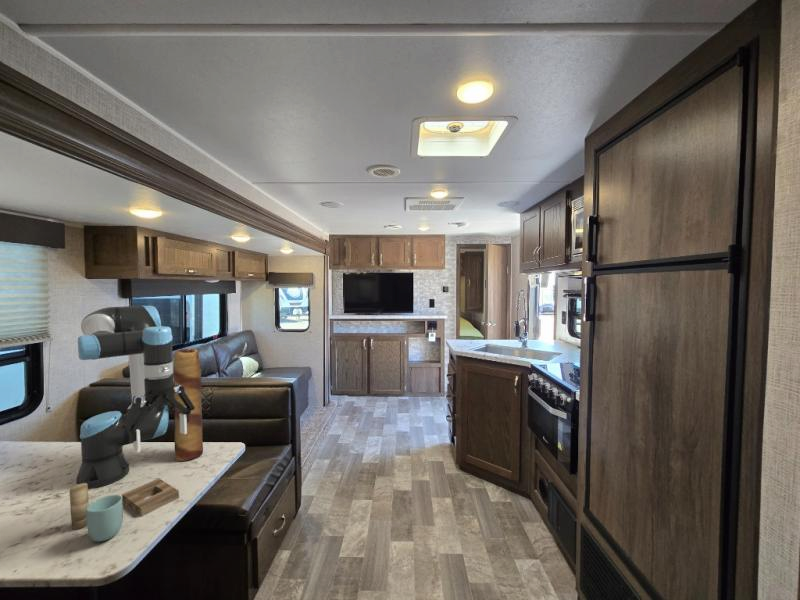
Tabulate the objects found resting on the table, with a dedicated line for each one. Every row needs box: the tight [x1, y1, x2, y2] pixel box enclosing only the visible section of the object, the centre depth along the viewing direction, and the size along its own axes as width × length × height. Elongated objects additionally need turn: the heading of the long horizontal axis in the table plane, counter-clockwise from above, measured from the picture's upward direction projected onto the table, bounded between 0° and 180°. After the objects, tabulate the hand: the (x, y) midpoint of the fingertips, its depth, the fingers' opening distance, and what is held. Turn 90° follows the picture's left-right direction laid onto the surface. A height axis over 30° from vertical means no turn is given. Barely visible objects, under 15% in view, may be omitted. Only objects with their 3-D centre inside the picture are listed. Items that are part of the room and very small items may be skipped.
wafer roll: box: [172, 348, 204, 462], centre depth 145 cm, size 10×11×45 cm
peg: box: [69, 483, 90, 531], centre depth 104 cm, size 4×4×12 cm
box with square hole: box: [121, 478, 180, 517], centre depth 117 cm, size 14×11×2 cm
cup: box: [86, 494, 124, 543], centre depth 100 cm, size 8×8×10 cm
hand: (161, 441), depth 111 cm, fingers open, 13 cm apart
